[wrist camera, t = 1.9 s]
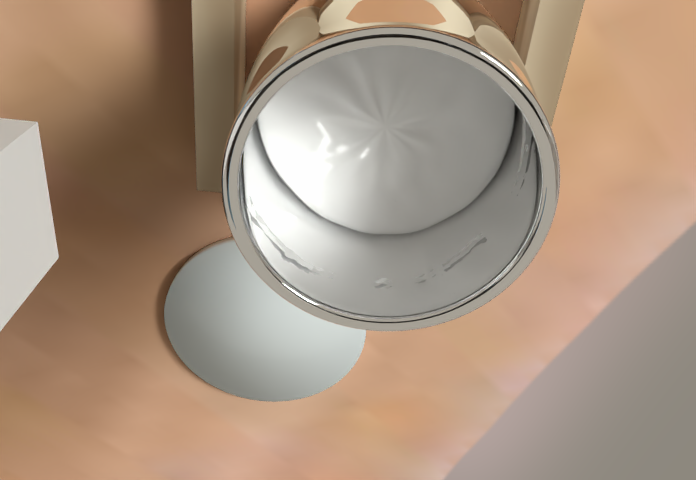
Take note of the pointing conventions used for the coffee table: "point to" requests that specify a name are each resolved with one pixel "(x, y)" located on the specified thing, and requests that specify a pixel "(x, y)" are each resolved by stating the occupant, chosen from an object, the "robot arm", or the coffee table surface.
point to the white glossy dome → (252, 331)
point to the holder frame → (229, 67)
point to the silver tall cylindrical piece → (389, 162)
